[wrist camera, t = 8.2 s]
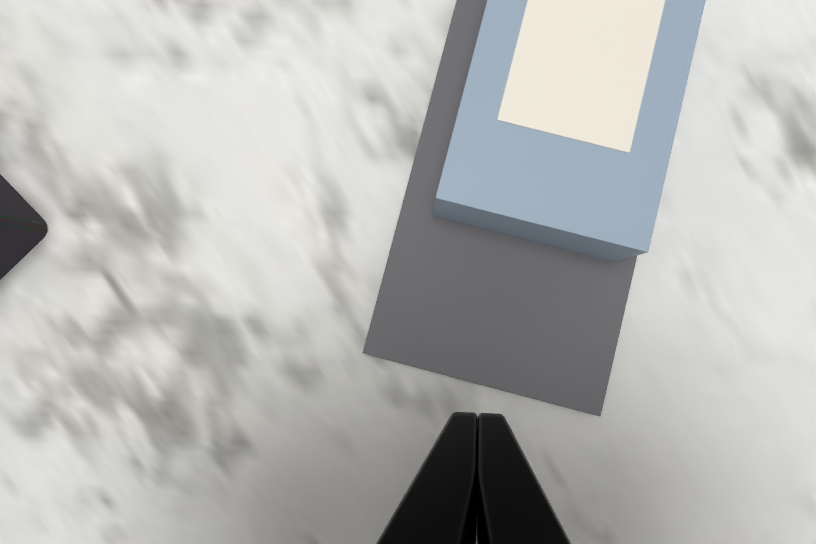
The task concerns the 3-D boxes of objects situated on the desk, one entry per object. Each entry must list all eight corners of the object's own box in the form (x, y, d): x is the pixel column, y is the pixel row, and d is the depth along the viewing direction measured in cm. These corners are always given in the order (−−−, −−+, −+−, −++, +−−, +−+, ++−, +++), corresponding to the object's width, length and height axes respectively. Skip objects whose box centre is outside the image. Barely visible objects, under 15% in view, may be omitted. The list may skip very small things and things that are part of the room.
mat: (596, 414, 20) (600, 416, 20) (363, 352, 21) (362, 353, 20) (688, 16, 22) (693, 11, 21) (467, -37, 22) (468, -43, 21)
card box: (648, 251, 17) (727, -92, 18) (435, 197, 18) (523, -139, 18) (613, 261, 20) (682, -33, 21) (432, 215, 21) (508, -75, 22)
